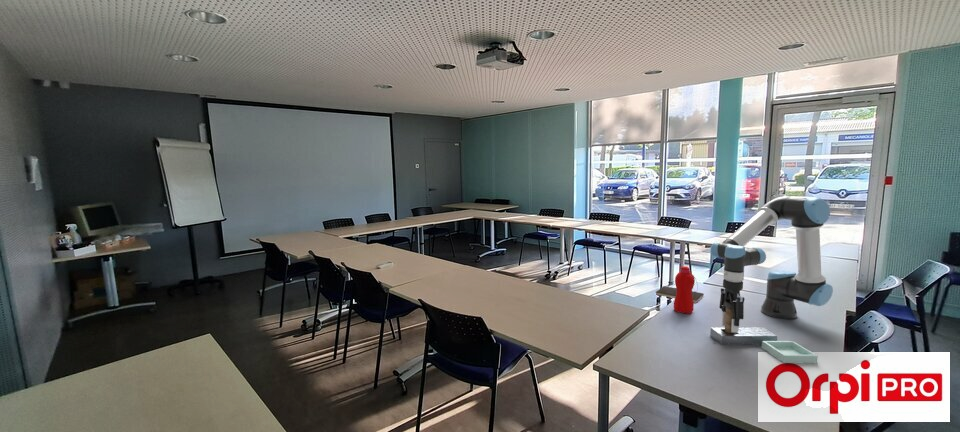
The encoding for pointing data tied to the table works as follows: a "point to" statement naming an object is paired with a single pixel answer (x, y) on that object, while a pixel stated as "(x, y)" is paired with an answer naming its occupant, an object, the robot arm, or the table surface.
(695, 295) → the hardcover book
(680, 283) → the water bottle
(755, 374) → the table surface
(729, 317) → the pin
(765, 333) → the block
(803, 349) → the tray
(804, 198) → the robot arm
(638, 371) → the table surface
